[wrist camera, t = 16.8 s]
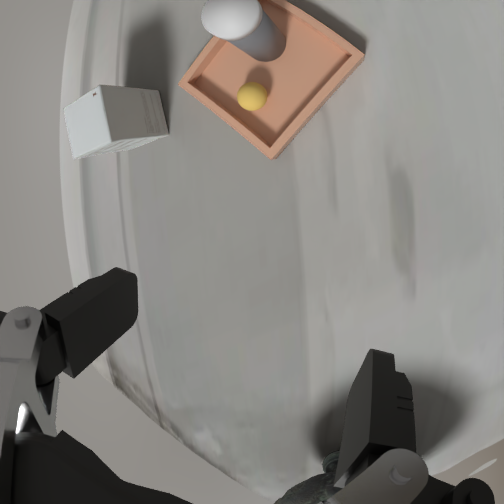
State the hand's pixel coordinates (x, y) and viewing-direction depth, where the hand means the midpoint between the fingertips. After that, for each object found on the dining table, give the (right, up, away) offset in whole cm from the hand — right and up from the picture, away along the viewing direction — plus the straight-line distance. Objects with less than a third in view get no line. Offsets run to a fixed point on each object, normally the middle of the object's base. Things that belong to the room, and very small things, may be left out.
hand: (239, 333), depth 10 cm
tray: (+3, +25, +26) cm, 36 cm away
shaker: (+2, +28, +24) cm, 37 cm away
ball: (+1, +22, +27) cm, 34 cm away
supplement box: (-15, +22, +33) cm, 43 cm away
